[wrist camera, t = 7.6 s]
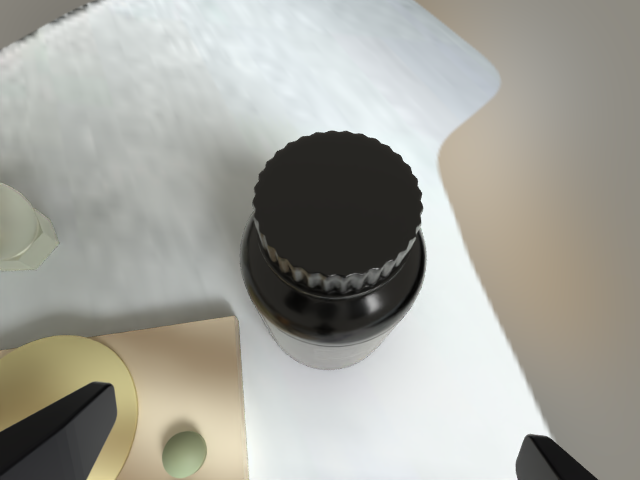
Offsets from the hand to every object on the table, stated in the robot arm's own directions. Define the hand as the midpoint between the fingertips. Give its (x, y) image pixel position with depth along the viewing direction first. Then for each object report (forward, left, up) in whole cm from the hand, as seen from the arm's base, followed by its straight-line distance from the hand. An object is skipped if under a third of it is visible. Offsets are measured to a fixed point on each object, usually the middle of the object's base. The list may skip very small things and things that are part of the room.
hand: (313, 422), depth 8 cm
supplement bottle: (+6, -1, -12) cm, 13 cm away
